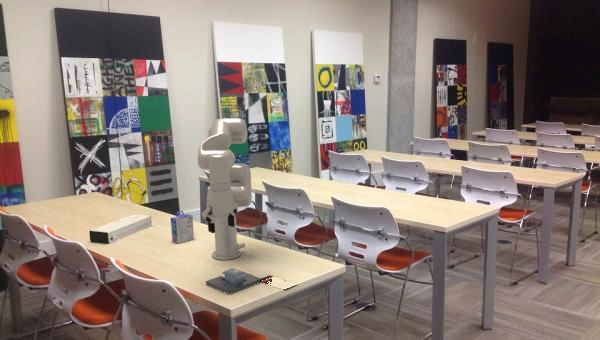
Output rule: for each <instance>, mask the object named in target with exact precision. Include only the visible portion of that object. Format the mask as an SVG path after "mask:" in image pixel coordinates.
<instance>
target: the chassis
mask: <svg viewBox="0 0 600 340" xmlns="http://www.w3.org/2000/svg"><path fill="white" fill-rule="evenodd" d="M238 270H239V269H238ZM239 271H242V272H243V274H244V275H245V277H243V282H241V283H238V284H235V285H234V284H231V283H229V282H226V281H225V276H221V275H219V276H217V277H214V278H213V277H212V278H211V279H207V280H205V285H206V286H208V287H210V288H213V289H214V290H217V291H219V290H220V291H219V292H221V293H224V292H225V294H226V293H227V295H229V294H230V295H232V294H235V293H237V291H238V292H240V291H242V289H243V290H245V289H247V287H248V288H250V287H249V286H251V287H253V286H255V285H254V284H256V285H258V284H257V283H259V284H261V283H260V282H262V278H263V277H258V276H256V275H253V274H251V273H247V272H245V271H243V270H239ZM252 285H253V286H252ZM244 288H245V289H244ZM239 290H240V291H239ZM234 292H235V293H234ZM231 293H232V294H231Z"/></svg>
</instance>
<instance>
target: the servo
mask: <svg viewBox="0 0 600 340" xmlns="http://www.w3.org/2000/svg"><path fill="white" fill-rule="evenodd" d="M242 271H243V270H240V271H239V269H236V268H233V267H232V268H229V269H226V270H224V271H222V272H221V273H222V275H224V278H225V281H226V282H229V283H231V284H234V285H235V284H238V283H241V282H243V277H245V275H244V274H243V272H244V271H243V272H242Z"/></svg>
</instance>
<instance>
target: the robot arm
mask: <svg viewBox="0 0 600 340" xmlns="http://www.w3.org/2000/svg"><path fill="white" fill-rule="evenodd" d="M207 134H208V138H206V139H205V140H203V141H202V142H201V143H200V145H199V147H198V154H197V165H198V167H199V168H200V169H202V170H207V171H209V172H208V173H209V174H208V175H209V190H208V191H207V196H206V198H207V199H206V208H205V210H203V211H202V212H201V215H202V217H203V219H204V220H205V222H206V223H207V230H208V233H211V234H214V247H215V249H214V251H213V252H212V253H211V255H212V256H211V257H212V258H213V259H215V260H220V261H227V260H228V261H229V260H234V259H237V258H239V257H241V253H242V252H241V250H240V249H243V248H246V243H245V242H242V243H239V242H238V239H237V235H238V234H237V217H236V214H237V213H238V209H239V208H244V207H249V206H250V205H251V204H252V200H253V199H252V197H253V196H252V176H251V175H252V173H251V168H250V166H249V165H248V164H247V163H236V157H235V156H236V155H235V154H234V152H233V151H232V150H231V149H230V147H231V145H232V144H236V145H237V144H245V143H246V142H247V139H248V129H247V122H246V121H245V120H244V119H243V118H240V117H225V118H224V117H222V118H217V119H216V120H214V122H213V123H212V125H211V127H210V128H209V129H208V132H207Z"/></svg>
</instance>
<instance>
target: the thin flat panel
mask: <svg viewBox="0 0 600 340" xmlns="http://www.w3.org/2000/svg"><path fill="white" fill-rule="evenodd" d="M272 277H273V275H267V276H264V277H261V278H262V280H263V281H262V283H261V284H263V283H265V284H264V285H266V284H268V283H269V282H268V281H270V282H272V279H271V278H272ZM269 278H270V279H269ZM266 279H267V280H266ZM267 282H268V283H267ZM270 284H271V283H270ZM297 286H298V283H297V285H295V286H292V287H290V288H287V289H284V290H283V291H288V290H291V289H292V288H295V287H297Z"/></svg>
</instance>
